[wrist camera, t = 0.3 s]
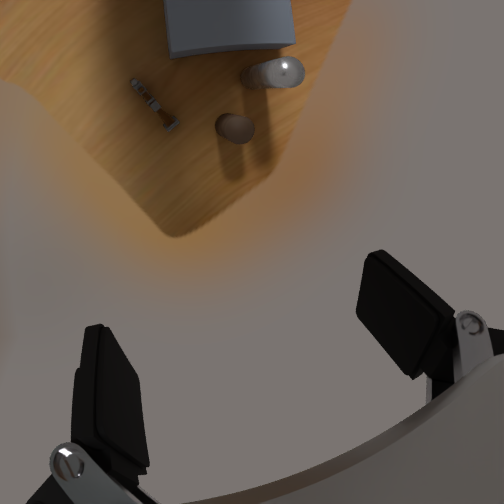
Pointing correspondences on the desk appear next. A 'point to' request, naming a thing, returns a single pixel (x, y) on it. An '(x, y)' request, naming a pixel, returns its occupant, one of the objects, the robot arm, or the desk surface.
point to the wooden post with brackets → (155, 105)
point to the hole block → (227, 25)
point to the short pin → (235, 128)
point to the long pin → (274, 74)
